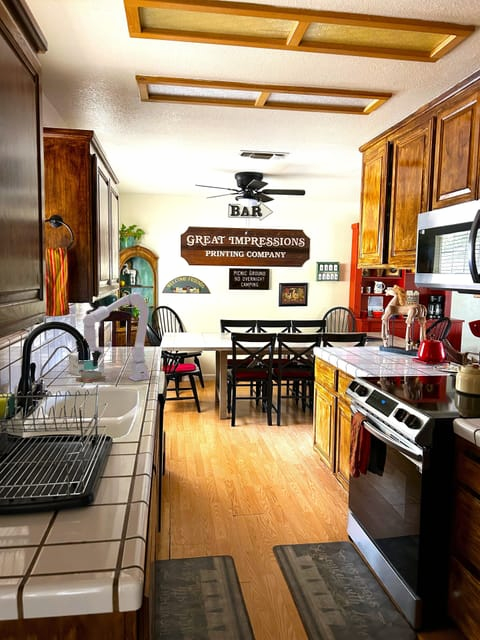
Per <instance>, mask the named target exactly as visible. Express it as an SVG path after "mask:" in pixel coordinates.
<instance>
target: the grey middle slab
mask: <svg viewBox="0 0 480 640" xmlns="http://www.w3.org/2000/svg"><path fill="white" fill-rule="evenodd" d="M102 376H103V372H102V371H99V370H96V369H94V370H89V371H85V372H81V375H80V377H83V378H88V379H92V378H97V377H102Z"/></svg>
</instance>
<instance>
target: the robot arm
mask: <svg viewBox="0 0 480 640" xmlns="http://www.w3.org/2000/svg"><path fill="white" fill-rule="evenodd" d="M124 305H133V306H134V307H136V309H137V310H138V311H139V315H138V316H139V317H138V322H137V329H136V337H135V342H134V348H133V349H132V350H131V360H130V372H131V376H128V379H130V380H132V381H134V382H137V381H145V380H146V381H147V380H150V379H151V377H149V368H148V367H149V366H148V365H147V363H146V359H145V356H146V355H145V340H146V337H147V336H146V335H147V330H148V329H147V328H148V322H149V317H150V316H149V315H150V307H149V305H148V304H147V301H146V299H145V297H144V296H143V295H142V294H141V293H140V292H137V291H134V292H131V294H127V295H124V296H123V297H121V298H119V299H117V300H116V301H114V302H113V303H111V304H110V305H107V306H104V305H103V306H98V308H97V309H95V310H94V311H90V312H89V314H87V315H85V316H84V317H83V319H82V324H83V338H84V337H85V339H86V341H87V343H88V345H89V349H90V351H89V352H91V357H92V360H93V366H97V363H98V364H99V359H100V357H101V355H102V353H104V352H105V347H99V346H98V347H97V337H96V336H97V335H96V332H97V331H96V330H97V329H96V323H99V322H101V321H103V320H104V319H106V318H108V317H109V316H110V313H111V312H113V311H115V310H116V309H119V308H120V307H122V306H124ZM77 347H78V346H76V348H75V349H76V352H78V351H77ZM83 364H84V361H83Z"/></svg>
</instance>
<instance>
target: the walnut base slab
mask: <svg viewBox="0 0 480 640" xmlns="http://www.w3.org/2000/svg"><path fill="white" fill-rule="evenodd" d="M102 380H103V381H106V376H105V375H102V377H97V378H92V379H88V378H83V377H81V376H77V377H75V382H78V383H82V384H83V383H84V384H89V383H91V384H94V383H93V382H95V383H98V382H97V381H99V382H103V381H102Z"/></svg>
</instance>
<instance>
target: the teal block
mask: <svg viewBox="0 0 480 640" xmlns="http://www.w3.org/2000/svg"><path fill="white" fill-rule="evenodd" d="M97 369H99V362H98V363H97V366H93V359H89V361H84V370H89V371H91V370H97Z"/></svg>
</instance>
